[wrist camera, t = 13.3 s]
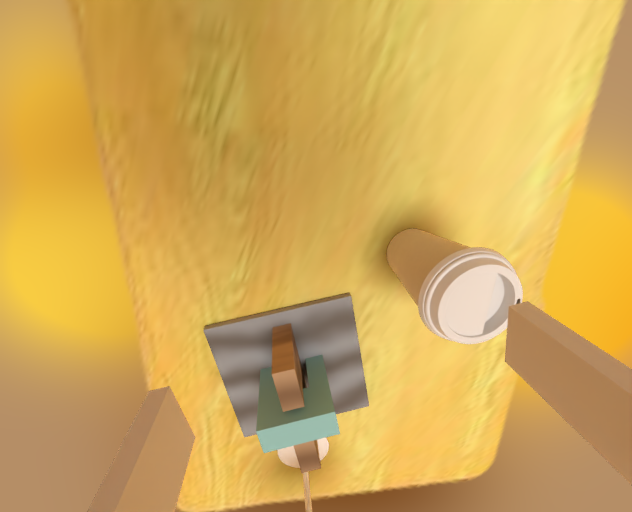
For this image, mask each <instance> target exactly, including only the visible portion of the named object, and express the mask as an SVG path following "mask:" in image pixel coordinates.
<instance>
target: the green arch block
mask: <svg viewBox="0 0 632 512" xmlns="http://www.w3.org/2000/svg"><path fill="white" fill-rule="evenodd" d="M305 360H306V368H307V375H308V382H309V387H308V388H304V389H303V397H304V406H305V407H301V408H297V409H293V410H289V411H285V412H283V410H282V407H281V404H280V400H279V397H278V394H277V390H276V387H275V384H274V381H273V377H272V367H268V368H264V369H261V370H260V384H259V398H258V412H257V426H256V433H257V435H258V438H259V441H260V444H261V447H262V449H263V452H264V453H267V452H271V451H274V450H278V449H282V448H286V447H290V446H294V445H298V444H302V443H306V442H310V441H314V440H318V439H321V438H325V437H329V436H333V435H337V434H340V432H339V427H338V423H337V418H336V414H335V409H334V405H333V400H332V396H331V391H330V387H329V382H328V378H327V373H326V369H325V365H324V360H323V356H322V355H318V356H314V357H310V358H306V359H305Z"/></svg>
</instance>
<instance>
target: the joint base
mask: <svg viewBox="0 0 632 512" xmlns="http://www.w3.org/2000/svg"><path fill="white" fill-rule="evenodd" d="M204 333H205V335H206V338H207V340H208V343H209V346H210V348H211V351H212V354H213V356H214V359H215V361H216V364H217V367H218V369H219V372H220V374H221V377H222V380H223V382H224V385H225V388H226V390H227V393H228V395H229V398H230V401H231V403H232V406H233V408H234V411H235V414H236V416H237V419H238V422H239V424H240V427H241V429H242V432H243V435H244V437H247V436H251V435H255V434H257V433H256V426H257V412H258V398H259V384H260V370H261V369H264V368H268V367H272V377H273V381H274V384H275V387H276V390H277V394H278V397H279V400H280V404H281V407H282V410H283V412H285V411H289V410H293V409H297V408H301V407H305V406H304V397H303V389H304V388H308V387H309V382H308V375H307V368H306V360H305V359H306V358H310V357H314V356H318V355H322V356H323V360H324V365H325V369H326V373H327V378H328V382H329V387H330V391H331V396H332V400H333V405H334V409H335V414H339V413H343V412H347V411H351V410H355V409H359V408H363V407H367V406H369V402H368V396H367V390H366V384H365V378H364V372H363V366H362V359H361V353H360V347H359V341H358V335H357V329H356V323H355V317H354V311H353V305H352V299H351V295H350V293H346V294H341V295H337V296H333V297H328V298H324V299H320V300H315V301H311V302H307V303H302V304H298V305H294V306H289V307H285V308H281V309H276V310H272V311H267V312H263V313H259V314H254V315H250V316H246V317H241V318H237V319H233V320H228V321H224V322H220V323H215V324H211V325H207V326H205V328H204ZM294 449H295V453H296V456H297V459H298V463H299V466H300V469H301V472H302V473H304V472H308V471H312V470H316V469H320V468H321V464H320V457H319V450H318V443H317V440H314V441H310V442H306V443H302V444H298V445H294Z"/></svg>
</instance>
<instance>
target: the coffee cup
mask: <svg viewBox="0 0 632 512" xmlns="http://www.w3.org/2000/svg"><path fill="white" fill-rule="evenodd" d="M387 261H388V264H389V265H390V267H391V268H392V270H393V271H394V273H395V274H396V276H397V277H398V278H399V280H400V281H401V283H402V284H403V286H404V287H405V288H406V290H407V291H408V293H409V294H410V296H411V297H412V299H413V300H414V301H415V303H416V304H417V306H418V309H419V314H420V317H421V319H422V321H423V323H424V324H425V326H426V327H427V328H428V329H429V330H430V331H431V332H433V333H434V334H436V335H438V336H440V337H442V338H444V339H447V340H451V341H456V342H458V343H463V344H476V343H481V342H484V341H487V340H489V339H492V338H494V337H495V336H497V335H498V334H500V333H501V332H503V331H504V330H505V329H506V328H507V324H508V310H509V306H510V305H515V304H519V303H522V297H523V291H522V285H521V282H520V280H519V278H518V277H517V274H516V272H515V270H514V268H513V267H512V265H511V264H510V263H509V261H508V260H507V259H506V258H505V257H504V256H502V255H501V254H500V253H498V252H496V251H494V250H491V249H488V248H482V247H474V248H470V247H467V246H464V245H462V244H459V243H456V242H453V241H450V240H448V239H445V238H442V237H439V236H436V235H434V234H431V233H428V232H425V231H422V230H419V229H406V230H404V231H401V232H400V233H398V234H397V235H396V236H395V237H394V238H393V239H392V240H391V242H390V243H389V245H388V248H387Z"/></svg>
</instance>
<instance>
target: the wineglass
mask: <svg viewBox="0 0 632 512" xmlns="http://www.w3.org/2000/svg"><path fill="white" fill-rule="evenodd" d="M317 443H318V450H319V457H320V461H321V460H322V459H323V458H324V457H325V456H326V454H327V452H328V449H329V443H328V441H327V438H326V437H325V438H321V439H318V440H317ZM278 457H279V458H280V460H281V461H282V462H283V463H284V464H286V465H288V466H291V467H296V468H300V466H299V463H298V459H297V456H296V453H295V449H294V446H290V447H286V448H282V449H278ZM303 482H304V494H305V506H306V512H312V505H311V494H310V484H309V474H308V472H304V473H303Z"/></svg>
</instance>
